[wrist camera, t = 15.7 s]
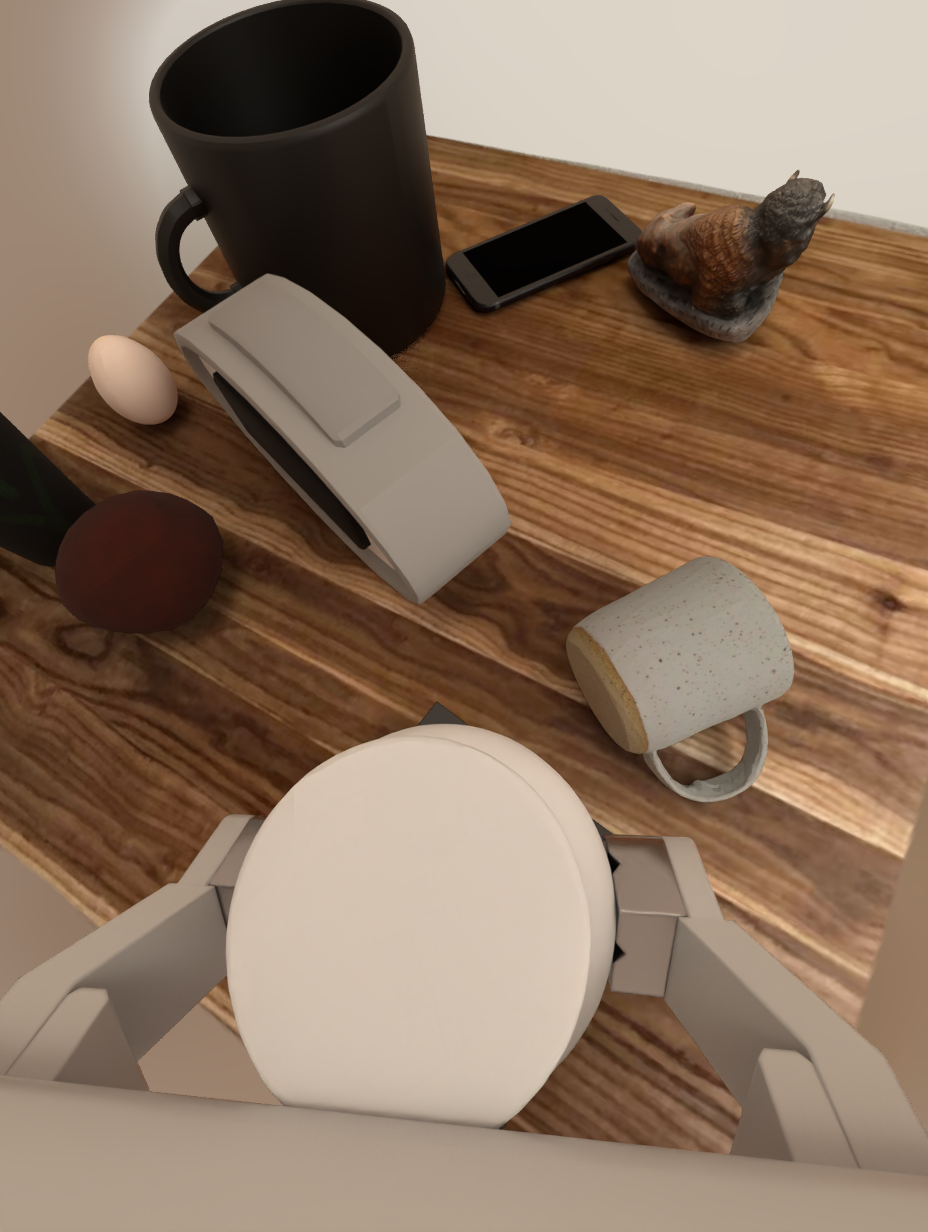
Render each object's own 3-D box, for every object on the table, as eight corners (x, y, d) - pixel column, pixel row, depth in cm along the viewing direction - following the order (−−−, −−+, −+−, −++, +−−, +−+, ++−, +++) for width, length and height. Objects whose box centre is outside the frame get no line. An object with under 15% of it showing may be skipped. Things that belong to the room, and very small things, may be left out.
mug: (186, 324, 45) (41, 100, 31) (379, 215, 48) (324, -32, 34) (273, 435, 39) (142, 221, 26) (485, 303, 43) (469, 50, 29)
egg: (203, 395, 42) (149, 318, 35) (176, 445, 40) (114, 373, 34) (150, 388, 42) (87, 311, 36) (121, 436, 41) (50, 364, 35)
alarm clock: (234, 431, 40) (116, 260, 28) (301, 384, 41) (214, 202, 29) (436, 645, 32) (389, 531, 20) (512, 579, 33) (509, 436, 21)
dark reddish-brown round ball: (93, 600, 35) (-14, 540, 28) (207, 511, 37) (134, 433, 30) (155, 683, 33) (54, 640, 26) (274, 582, 35) (211, 516, 27)
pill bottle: (338, 850, 15) (83, 864, 6) (488, 731, 16) (452, 594, 7) (453, 1041, 13) (320, 1457, 4) (616, 894, 14) (786, 985, 5)
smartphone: (440, 266, 45) (439, 255, 44) (599, 199, 46) (601, 187, 45) (480, 320, 42) (479, 310, 41) (648, 248, 43) (651, 237, 42)
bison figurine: (605, 290, 42) (629, 134, 33) (673, 248, 43) (715, 86, 34) (721, 378, 38) (787, 227, 28) (793, 329, 39) (880, 168, 29)
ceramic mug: (551, 655, 31) (562, 602, 24) (674, 593, 32) (720, 524, 25) (656, 834, 27) (707, 835, 20) (793, 758, 28) (889, 734, 21)
